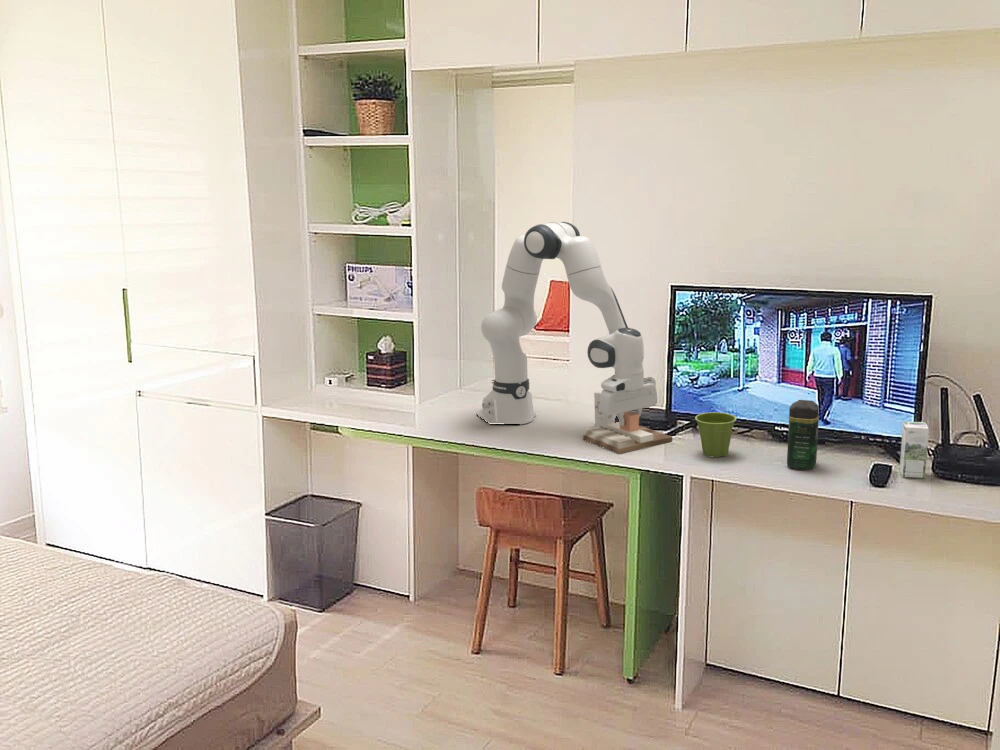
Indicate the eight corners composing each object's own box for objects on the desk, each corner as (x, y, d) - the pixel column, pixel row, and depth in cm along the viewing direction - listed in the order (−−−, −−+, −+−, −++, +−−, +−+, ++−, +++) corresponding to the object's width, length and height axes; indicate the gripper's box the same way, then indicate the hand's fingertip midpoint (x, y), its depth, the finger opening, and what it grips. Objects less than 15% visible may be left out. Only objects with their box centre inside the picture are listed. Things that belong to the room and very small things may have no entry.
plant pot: (692, 448, 284) (692, 412, 281) (731, 447, 283) (732, 411, 280) (697, 460, 272) (698, 423, 270) (739, 460, 272) (740, 422, 269)
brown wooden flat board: (583, 439, 296) (583, 429, 295) (635, 428, 306) (635, 417, 305) (619, 454, 281) (618, 442, 280) (672, 441, 291) (672, 430, 290)
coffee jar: (814, 472, 259) (817, 407, 255) (784, 469, 263) (787, 405, 258) (818, 461, 268) (821, 398, 264) (789, 458, 271) (791, 396, 267)
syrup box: (921, 472, 257) (925, 421, 253) (925, 479, 251) (929, 427, 248) (899, 471, 258) (902, 420, 255) (902, 478, 253) (905, 426, 249)
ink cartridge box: (607, 420, 316) (607, 378, 313) (620, 422, 313) (620, 379, 310) (594, 426, 310) (593, 383, 306) (607, 428, 307) (606, 385, 303)
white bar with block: (606, 430, 299) (605, 409, 298) (618, 427, 302) (618, 406, 300) (640, 443, 285) (640, 421, 283) (653, 440, 287) (653, 418, 286)
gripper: (648, 374, 297) (648, 416, 300) (596, 383, 287) (597, 427, 290) (661, 377, 292) (661, 420, 295) (609, 387, 282) (609, 432, 285)
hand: (629, 424), depth 293 cm, fingers closed on white bar with block, 3 cm apart
